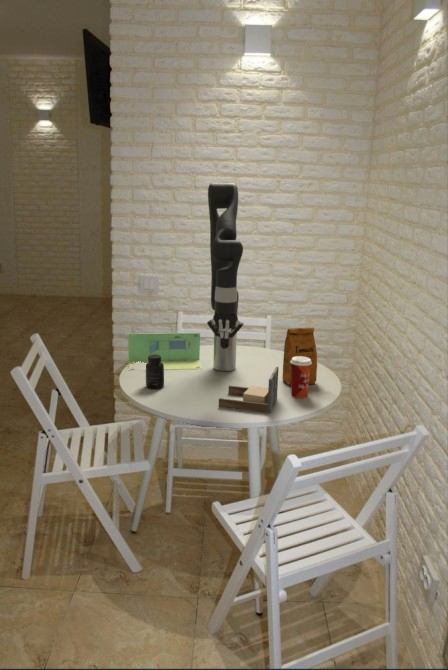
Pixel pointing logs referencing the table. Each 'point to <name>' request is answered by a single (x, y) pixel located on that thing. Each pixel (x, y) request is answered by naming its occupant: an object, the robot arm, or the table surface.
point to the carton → (256, 394)
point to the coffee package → (300, 351)
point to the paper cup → (300, 376)
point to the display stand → (166, 349)
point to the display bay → (252, 405)
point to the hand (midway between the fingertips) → (224, 348)
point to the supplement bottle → (154, 372)
